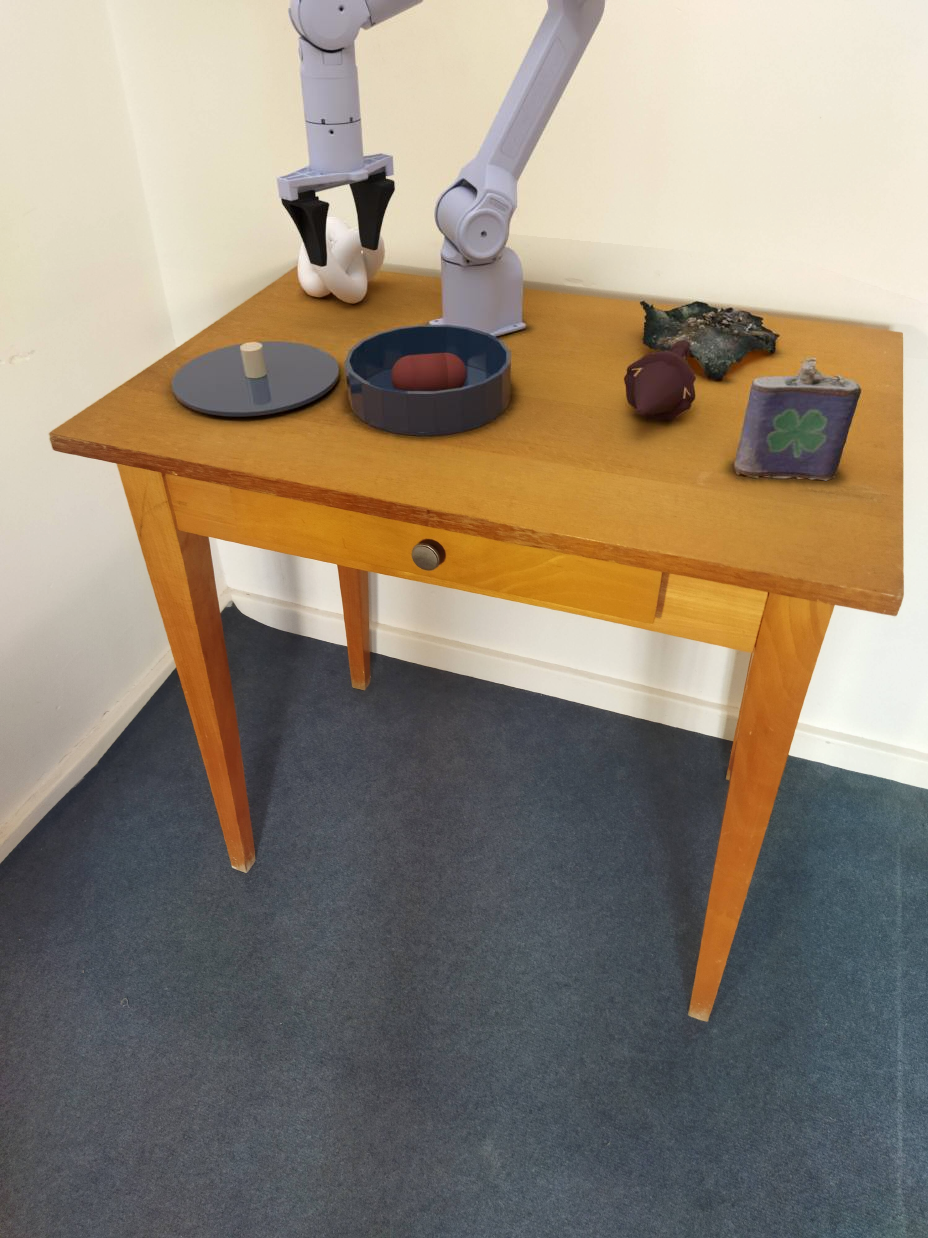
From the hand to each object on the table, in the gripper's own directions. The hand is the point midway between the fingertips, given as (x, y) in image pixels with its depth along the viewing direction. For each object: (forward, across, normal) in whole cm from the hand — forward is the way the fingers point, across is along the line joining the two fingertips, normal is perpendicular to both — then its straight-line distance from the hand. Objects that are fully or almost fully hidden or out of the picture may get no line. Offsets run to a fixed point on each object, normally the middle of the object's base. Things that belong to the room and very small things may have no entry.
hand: (344, 255), depth 99 cm
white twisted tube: (+11, +11, +14) cm, 21 cm away
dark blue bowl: (+10, -4, -17) cm, 20 cm away
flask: (+10, +7, -52) cm, 54 cm away
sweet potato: (+10, -4, -17) cm, 20 cm away
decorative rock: (+10, +28, -32) cm, 43 cm away
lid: (+10, -14, 0) cm, 17 cm away
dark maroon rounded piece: (+10, +9, -37) cm, 40 cm away
